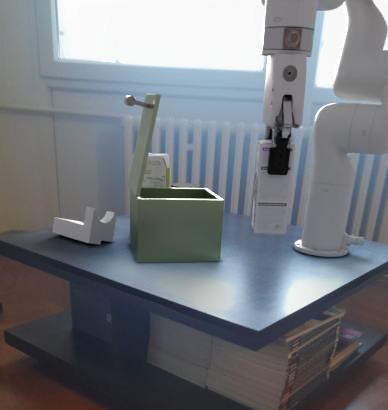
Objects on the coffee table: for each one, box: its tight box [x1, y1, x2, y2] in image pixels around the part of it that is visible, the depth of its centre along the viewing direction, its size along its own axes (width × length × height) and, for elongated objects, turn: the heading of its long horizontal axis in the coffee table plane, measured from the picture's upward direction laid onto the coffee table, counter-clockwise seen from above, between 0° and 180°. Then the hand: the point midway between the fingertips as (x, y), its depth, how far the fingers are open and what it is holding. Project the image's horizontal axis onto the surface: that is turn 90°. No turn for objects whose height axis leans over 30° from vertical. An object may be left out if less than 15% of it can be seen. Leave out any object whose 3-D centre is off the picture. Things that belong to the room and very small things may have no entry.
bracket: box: [51, 206, 118, 245], centre depth 117 cm, size 13×7×8 cm, turn 51°
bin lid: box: [123, 93, 162, 197], centre depth 99 cm, size 18×15×5 cm
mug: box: [170, 182, 202, 188], centre depth 136 cm, size 11×8×10 cm
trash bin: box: [129, 187, 225, 264], centre depth 108 cm, size 18×15×13 cm
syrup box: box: [250, 139, 296, 236], centre depth 84 cm, size 6×6×14 cm
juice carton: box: [130, 152, 171, 188], centre depth 121 cm, size 8×9×19 cm
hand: (273, 170), depth 83 cm, fingers closed on syrup box, 5 cm apart
